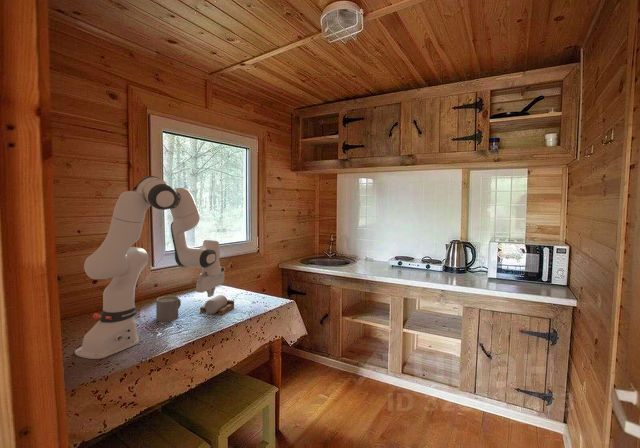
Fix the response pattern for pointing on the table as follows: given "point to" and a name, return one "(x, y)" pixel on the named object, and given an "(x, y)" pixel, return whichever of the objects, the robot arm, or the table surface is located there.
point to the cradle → (221, 311)
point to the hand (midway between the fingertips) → (210, 296)
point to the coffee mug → (167, 308)
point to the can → (215, 304)
